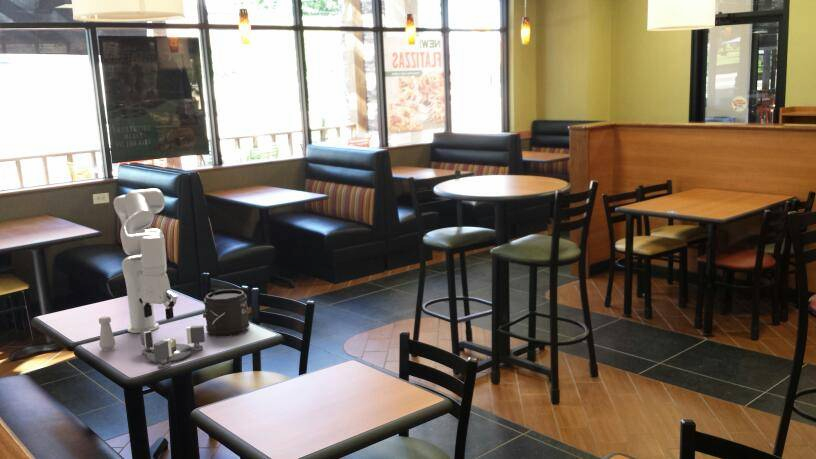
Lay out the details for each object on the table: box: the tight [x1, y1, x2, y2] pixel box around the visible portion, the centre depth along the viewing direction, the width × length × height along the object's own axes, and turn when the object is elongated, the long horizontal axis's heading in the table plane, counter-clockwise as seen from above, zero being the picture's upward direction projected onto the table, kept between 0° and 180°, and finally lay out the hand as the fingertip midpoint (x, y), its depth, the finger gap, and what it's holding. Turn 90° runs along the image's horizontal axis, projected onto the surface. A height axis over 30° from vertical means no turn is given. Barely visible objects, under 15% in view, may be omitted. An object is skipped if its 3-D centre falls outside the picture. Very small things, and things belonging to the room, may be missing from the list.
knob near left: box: [185, 324, 206, 347], centre depth 281 cm, size 2×6×8 cm, turn 97°
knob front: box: [153, 338, 172, 364], centre depth 264 cm, size 2×6×8 cm, turn 157°
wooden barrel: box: [202, 288, 251, 338], centre depth 301 cm, size 18×18×16 cm
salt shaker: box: [98, 315, 116, 352], centre depth 285 cm, size 6×6×13 cm
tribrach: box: [141, 337, 204, 369], centre depth 272 cm, size 21×23×7 cm
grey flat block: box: [139, 328, 154, 351], centre depth 278 cm, size 2×6×8 cm, turn 37°
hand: (159, 317), depth 262 cm, fingers open, 9 cm apart
